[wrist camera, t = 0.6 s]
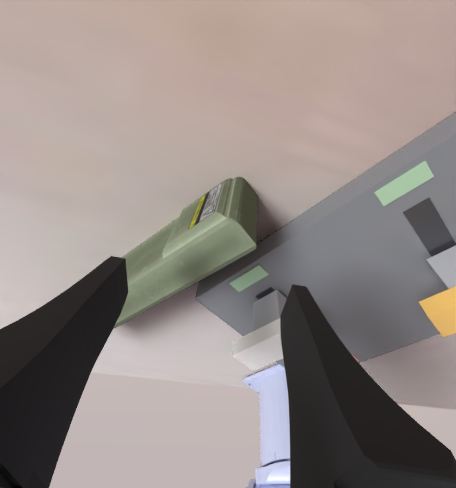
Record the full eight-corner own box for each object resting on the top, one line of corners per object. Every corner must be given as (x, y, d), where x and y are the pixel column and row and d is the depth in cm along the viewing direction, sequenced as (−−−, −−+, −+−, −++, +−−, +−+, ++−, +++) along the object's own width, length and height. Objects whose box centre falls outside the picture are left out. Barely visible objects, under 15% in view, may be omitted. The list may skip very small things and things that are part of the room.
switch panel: (539, 271, 22) (563, 290, 21) (301, 365, 32) (303, 383, 30) (468, 103, 16) (494, 110, 14) (198, 282, 26) (194, 300, 24)
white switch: (312, 295, 22) (323, 341, 19) (253, 325, 25) (253, 371, 22) (295, 277, 21) (302, 322, 18) (234, 310, 24) (231, 355, 21)
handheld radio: (264, 202, 21) (70, 324, 31) (237, 166, 20) (44, 305, 30) (265, 256, 15) (28, 383, 25) (228, 211, 14) (-6, 363, 24)
